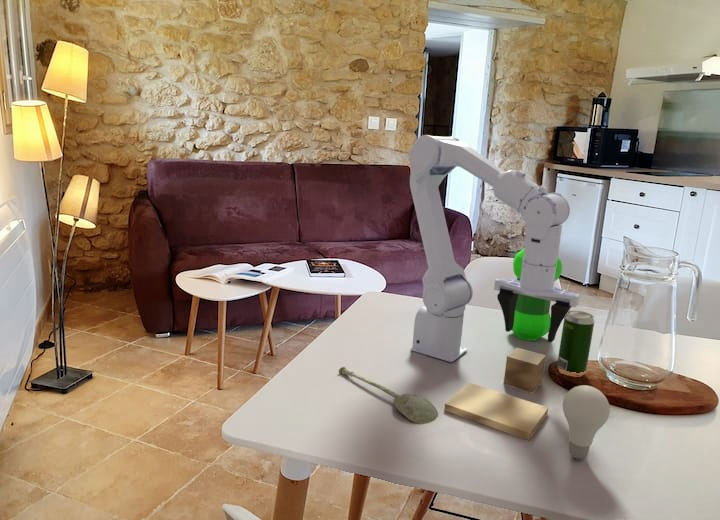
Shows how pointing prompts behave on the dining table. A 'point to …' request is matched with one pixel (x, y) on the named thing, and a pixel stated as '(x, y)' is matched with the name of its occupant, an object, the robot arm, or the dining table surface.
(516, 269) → the plastic bottle
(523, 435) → the oak board
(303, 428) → the dining table surface
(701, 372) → the dining table surface
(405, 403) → the soupspoon
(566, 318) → the beer can
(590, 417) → the lightbulb
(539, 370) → the tan cube
